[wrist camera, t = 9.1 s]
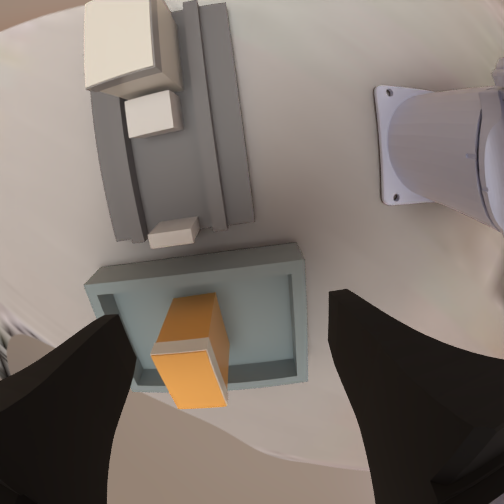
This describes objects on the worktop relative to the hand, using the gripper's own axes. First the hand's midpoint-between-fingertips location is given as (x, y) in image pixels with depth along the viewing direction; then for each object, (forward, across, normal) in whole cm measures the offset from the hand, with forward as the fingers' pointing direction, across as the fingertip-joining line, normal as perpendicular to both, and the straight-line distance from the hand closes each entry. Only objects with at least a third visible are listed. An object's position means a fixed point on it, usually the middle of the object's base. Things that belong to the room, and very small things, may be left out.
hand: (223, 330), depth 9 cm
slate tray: (+10, +3, +6) cm, 12 cm away
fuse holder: (+10, +3, -8) cm, 13 cm away
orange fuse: (+9, +3, +6) cm, 11 cm away
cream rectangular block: (+9, +3, -12) cm, 15 cm away
